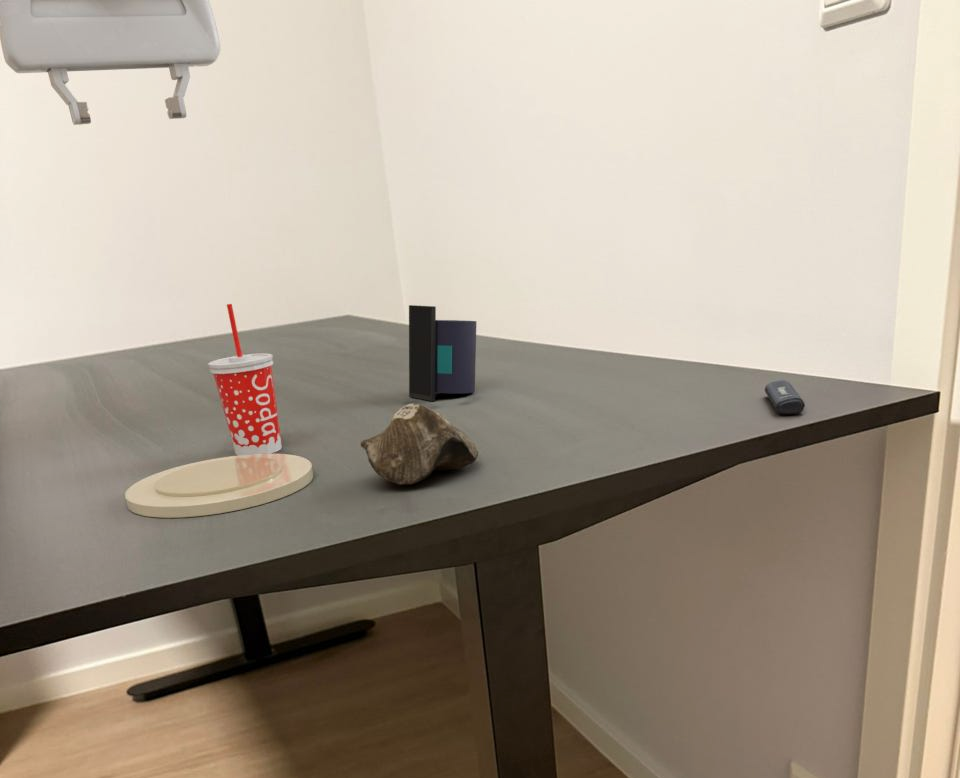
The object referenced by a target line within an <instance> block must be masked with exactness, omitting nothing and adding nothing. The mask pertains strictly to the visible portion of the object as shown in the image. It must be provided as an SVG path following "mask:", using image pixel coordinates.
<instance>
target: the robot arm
mask: <svg viewBox="0 0 960 778" xmlns="http://www.w3.org/2000/svg"><path fill="white" fill-rule="evenodd" d="M0 46H1V50H2V56H3V59H4V62H5V64H6V65H7V66H8V67H9V68H10V69H11V70H13V71H14V72H15V73H16V74H36V73H37V74H39V73H40V74H43V73H47V74H48V79H49V83H50V86H51V87H52V89H53V90H54V91H55V92H56V94H57V95H58V96H59V97H60V98H61V100H62V101H63V102H64V103H65V104H66V105H67V106H68V110H69V114H70V118H71V122H72V124H73V125H74V126H81V125H90V124H91V123H92V119H91V118H92V117H91V115H90V113H89V106H88V102H87V101H78V100H77V98H76V97H75V96H74V95H73V93H72V92H71V90H69V88H68V87H67V86H66V84H68V83H69V81H70V79H69V74H68V72H90V71H91V72H92V71H116V70H117V71H118V70H120V71H121V70H142V69H143V70H145V69H166V68H168V69H169V73H170V74H169V75H170V79H171V80H172V81H176V84H175V87H174V91H173V95H172V97H171V96H170V97H168V98H166V99H164V103H165V107H166V109H167V112H166V113H167V117H168V119H169V120H175V119H176V120H178V119H186V118H187V110H186V109H187V108H186V105H185V100H184V97H185V96H186V93H187V88H188V86H189V82H190V79H191V74H190V73H191V72H190V69H189V68H192V67H193V68H194V67H195V68H196V67H197V68H198V67H208V66H210V65H213V64H214V63H215V62H216V61H217V60H218V58H219V56H220V53H221V43H220V36H219V31H218V28H217V23H216V19H215V17H214V12H213V9H212V6H211V3H210V0H0Z"/></svg>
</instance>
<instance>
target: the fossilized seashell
mask: <svg viewBox="0 0 960 778" xmlns="http://www.w3.org/2000/svg"><path fill="white" fill-rule="evenodd" d="M360 447H361V448H362V449H364V450H365V452H366V455H367V460H368V462H369V464H370V466H371V468H372V470H373V471H374V472H375V473H376V474H377V475H378V476H379V477H381V478H383V479H385V480H387V481H388V482H391V483H393V484H395V485H400V486H401V485H413V484H416V483H418V482H420V481H422V480H425V478H428V477H429V476H430V475H431V474H432V473H433V472H434V471H448V470H455V469H463V468H465V467H468V466H470V465H472V464H473V463H474V462H475V461H476V460H477V459H478V456H479V451H478V450H477V447H476V444H475V442H473V440H472V438H470V436H469V435H467V434H466V433H465V432H463V431H462V430H460V429H459V428H457V427H456V426H454V425H453V424H452V422H450V421H449V420H448V419H447V418H446V416H445V414H444V413H442V412H439V411H434V410H433V409H431V408H430V407H428V406H425V405H421V404H419V403H408V404H406V405H403V406H402V407H401V408H400V409H399V410H398V411H396V412H395V413H394V414H393V417H392V418H391V420H390V423H389V424H388V426H387V427H386V428H385V429H384V430H383V431H382V432H381V433H379V434H377V435H374V436H372V437H369V438H367V439H362V440H361V441H360Z"/></svg>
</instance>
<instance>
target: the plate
mask: <svg viewBox="0 0 960 778" xmlns="http://www.w3.org/2000/svg"><path fill="white" fill-rule="evenodd" d="M313 479H314V469H313V464H312V463H311V461H310V460H309V459H308V458H306V457H303V456H299V455H294V454H288V453H271V454H249V455H238V456H237V455H230V456H224V457H223V456H222V457H217V458H211V459H210V458H209V459H206V460H200V461H196V462H195V461H194V462H191V463H187V464H183V465H179V466H176V467H171V468H168V469H166V470H162V471H160V472H156V473H154V474H152V475H149V476H147V477H144V478H142V479H141V480H139V481H137V482H135V483H134V484H132V485H131V486H129V487H128V488H127V489H126V490H125V492H124V498H125V502H126V507H127V508H128V510H129V511H130V512H132V513H134V514H136V515H139V516H142V517H148V518H160V519H180V518H181V519H183V518H196V517H204V516H206V517H207V516H213V515H220V514H225V513H231V512H237V511H240V510H245V509H250V508H254V507H258V506H260V505H261V506H262V505H265V504H268V503H271V502H274V501H278V500H281V499H283V498H286V497H288V496H290V495H292V494H294V493H297V492H298V491H300V490H302V489H304V488H305V487H306V486H308V485H309V484H310V483H311V482H312V481H313Z"/></svg>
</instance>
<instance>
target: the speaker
mask: <svg viewBox="0 0 960 778" xmlns="http://www.w3.org/2000/svg"><path fill="white" fill-rule="evenodd" d="M436 307H437V306H432V305H415V304H409V305H408V397H409V398H414V399H420V400H425V401H430V402H435V401H436V394H472V393H475V392H476V357H477V356H476V355H477V353H476V352H477V321H475V320H459V319H437V318H436V316H437V314H436V313H437V311H436V310H437V309H436Z"/></svg>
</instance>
